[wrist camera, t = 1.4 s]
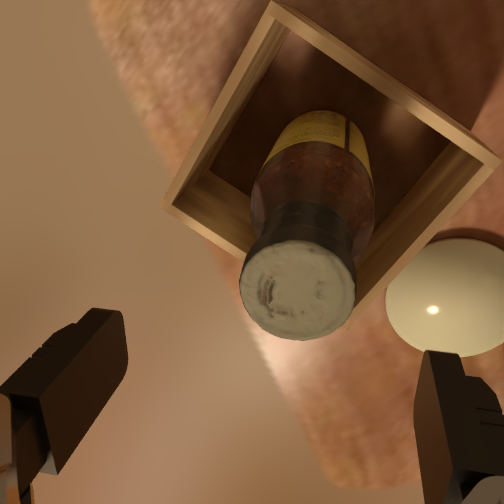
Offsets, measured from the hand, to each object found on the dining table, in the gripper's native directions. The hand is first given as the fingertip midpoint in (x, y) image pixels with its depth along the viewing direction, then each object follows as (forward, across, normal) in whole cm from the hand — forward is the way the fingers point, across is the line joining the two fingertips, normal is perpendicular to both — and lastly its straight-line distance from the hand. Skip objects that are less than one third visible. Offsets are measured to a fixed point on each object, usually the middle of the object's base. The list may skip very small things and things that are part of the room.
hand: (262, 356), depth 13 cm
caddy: (+24, 0, 0) cm, 24 cm away
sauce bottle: (+24, 0, 0) cm, 24 cm away
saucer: (+24, -11, +11) cm, 28 cm away
